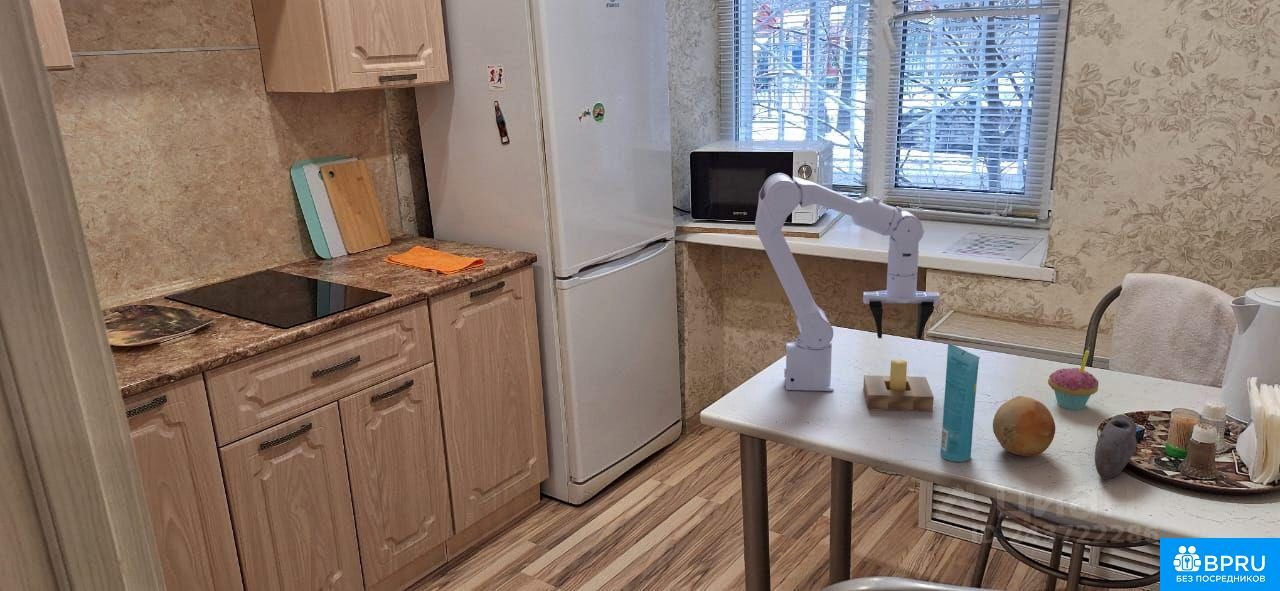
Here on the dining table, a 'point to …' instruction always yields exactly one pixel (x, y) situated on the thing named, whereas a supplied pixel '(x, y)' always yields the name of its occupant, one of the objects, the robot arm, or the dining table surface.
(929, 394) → the socket
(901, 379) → the dowel
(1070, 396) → the cupcake
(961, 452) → the tube
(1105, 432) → the perforated stone tool
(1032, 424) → the onion
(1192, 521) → the dining table surface
